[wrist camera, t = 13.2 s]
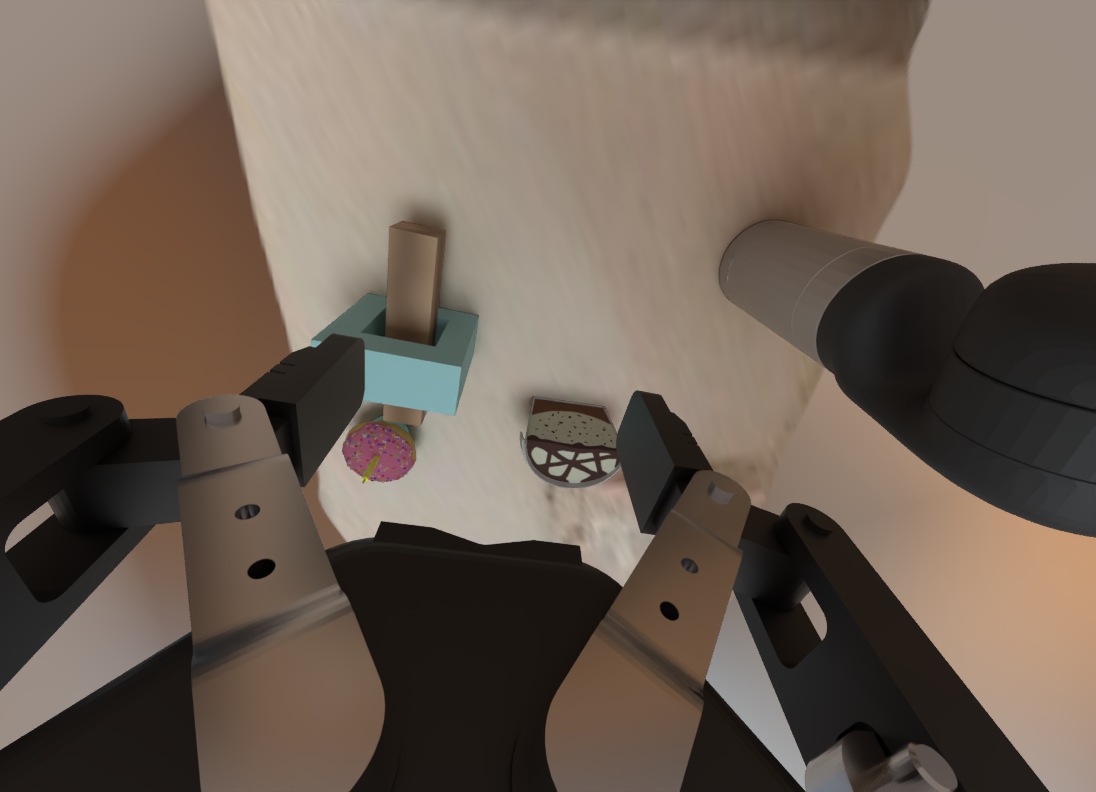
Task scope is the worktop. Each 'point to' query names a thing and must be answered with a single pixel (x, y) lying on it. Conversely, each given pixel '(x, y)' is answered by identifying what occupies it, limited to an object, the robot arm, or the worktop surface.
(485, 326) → the worktop surface
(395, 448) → the cupcake
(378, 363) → the light blue hollow block
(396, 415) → the brown rectangular block
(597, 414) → the food container
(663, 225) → the worktop surface
